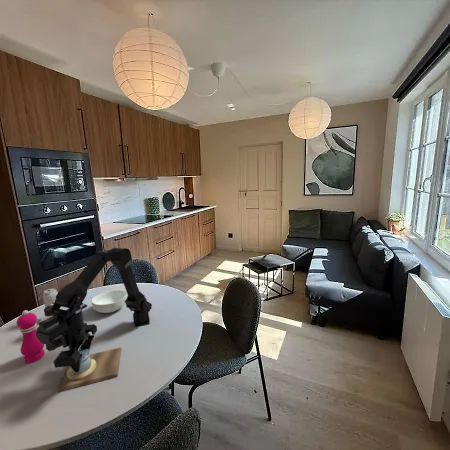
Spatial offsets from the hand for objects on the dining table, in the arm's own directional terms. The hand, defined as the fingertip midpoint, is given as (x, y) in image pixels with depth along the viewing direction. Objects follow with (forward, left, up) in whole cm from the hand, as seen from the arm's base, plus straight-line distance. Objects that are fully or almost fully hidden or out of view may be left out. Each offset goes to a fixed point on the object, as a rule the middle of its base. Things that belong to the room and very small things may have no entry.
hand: (81, 365), depth 87 cm
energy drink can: (+22, -46, -4) cm, 51 cm away
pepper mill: (+20, -16, -3) cm, 26 cm away
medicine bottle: (+18, -34, -4) cm, 39 cm away
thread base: (-3, -1, -3) cm, 4 cm away
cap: (0, 0, -1) cm, 1 cm away
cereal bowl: (-4, -45, -4) cm, 45 cm away
